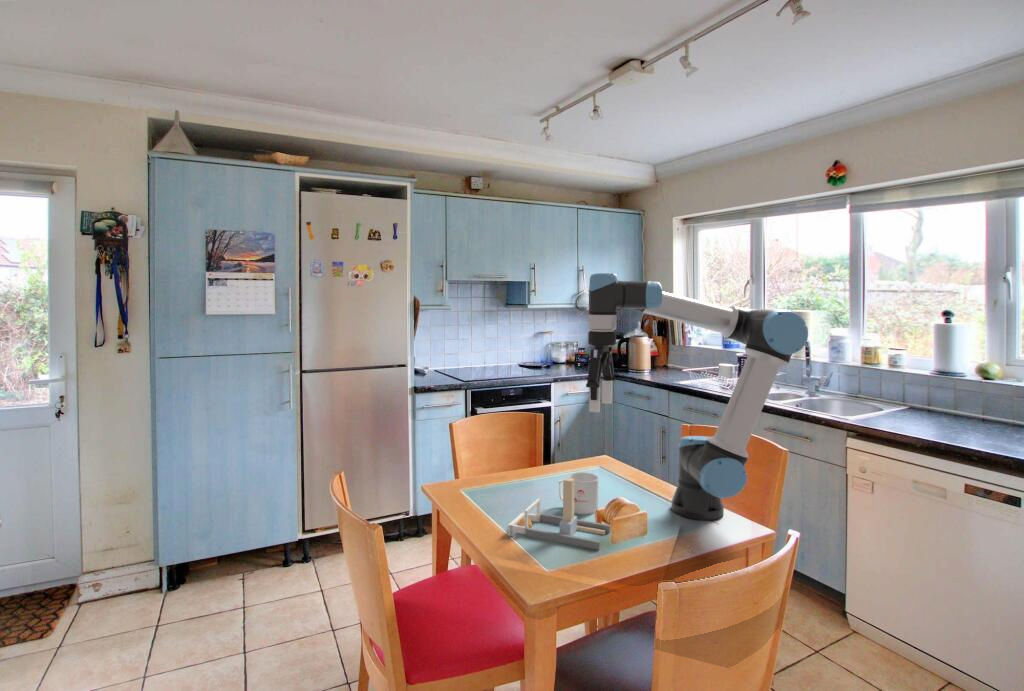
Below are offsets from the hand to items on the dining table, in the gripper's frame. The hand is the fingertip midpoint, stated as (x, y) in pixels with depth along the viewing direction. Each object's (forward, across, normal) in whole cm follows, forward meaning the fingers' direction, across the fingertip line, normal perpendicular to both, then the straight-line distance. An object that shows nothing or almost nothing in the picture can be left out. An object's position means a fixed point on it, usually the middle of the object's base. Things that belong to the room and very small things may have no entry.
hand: (600, 407), depth 150 cm
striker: (+33, +9, -6) cm, 35 cm away
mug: (+35, -10, -9) cm, 37 cm away
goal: (+35, +9, -19) cm, 41 cm away
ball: (+33, +9, -19) cm, 39 cm away
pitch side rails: (+35, +9, -6) cm, 36 cm away
